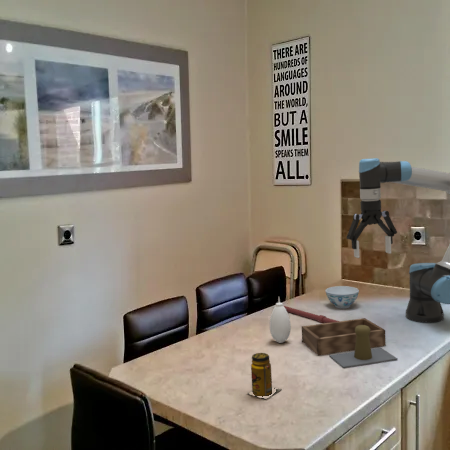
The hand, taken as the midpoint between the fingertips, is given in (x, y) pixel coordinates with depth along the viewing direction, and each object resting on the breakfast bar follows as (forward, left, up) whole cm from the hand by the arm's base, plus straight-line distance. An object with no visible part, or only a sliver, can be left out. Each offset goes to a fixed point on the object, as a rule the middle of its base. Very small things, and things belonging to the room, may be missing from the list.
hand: (372, 255), depth 205 cm
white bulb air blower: (+37, -5, -32) cm, 49 cm away
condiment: (+56, +34, -32) cm, 73 cm away
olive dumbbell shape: (+16, +21, -31) cm, 40 cm away
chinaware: (-5, -39, -32) cm, 50 cm away
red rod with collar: (+14, -27, -32) cm, 44 cm away
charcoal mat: (+16, +21, -31) cm, 41 cm away
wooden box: (+16, +5, -31) cm, 35 cm away
